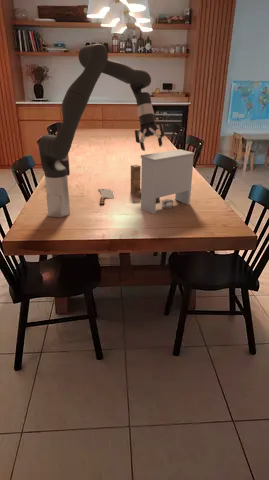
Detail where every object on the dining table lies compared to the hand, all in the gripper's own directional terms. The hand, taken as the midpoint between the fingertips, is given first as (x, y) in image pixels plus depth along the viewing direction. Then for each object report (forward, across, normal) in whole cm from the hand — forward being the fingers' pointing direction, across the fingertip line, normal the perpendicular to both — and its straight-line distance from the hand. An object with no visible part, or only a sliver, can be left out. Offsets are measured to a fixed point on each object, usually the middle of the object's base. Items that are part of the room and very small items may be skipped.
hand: (152, 148), depth 176 cm
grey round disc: (+30, +5, -10) cm, 32 cm away
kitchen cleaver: (+20, -25, -7) cm, 33 cm away
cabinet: (+29, +4, -10) cm, 31 cm away
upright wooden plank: (+22, -8, -1) cm, 24 cm away
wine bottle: (-2, -62, +21) cm, 65 cm away
